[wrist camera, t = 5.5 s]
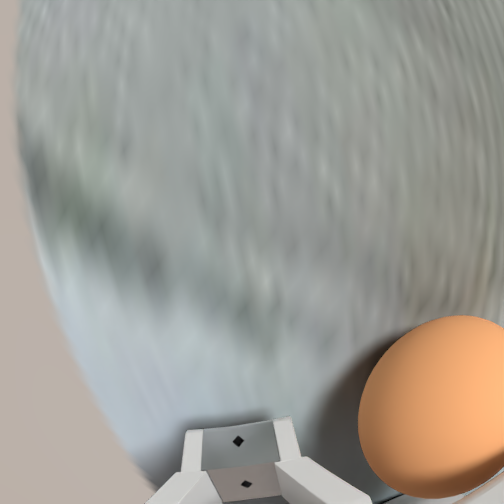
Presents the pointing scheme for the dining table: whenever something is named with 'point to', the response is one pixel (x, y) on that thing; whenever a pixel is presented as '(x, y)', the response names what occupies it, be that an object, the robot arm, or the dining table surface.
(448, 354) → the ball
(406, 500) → the teacup
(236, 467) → the robot arm
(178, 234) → the dining table surface
